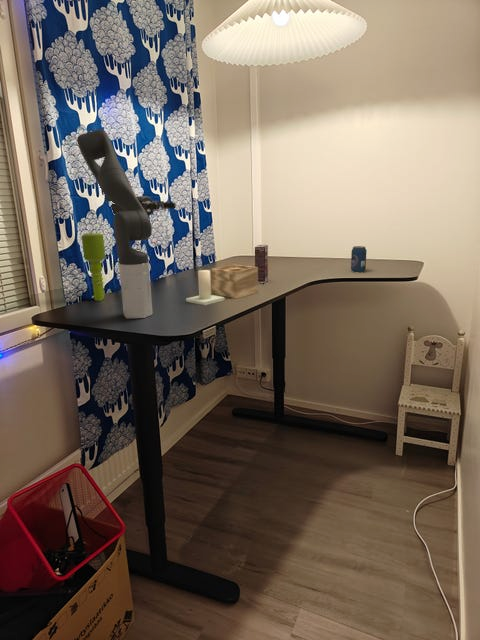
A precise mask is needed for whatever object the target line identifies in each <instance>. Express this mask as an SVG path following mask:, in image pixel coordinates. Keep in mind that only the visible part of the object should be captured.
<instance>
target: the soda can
mask: <svg viewBox="0 0 480 640" xmlns="http://www.w3.org/2000/svg"><path fill="white" fill-rule="evenodd" d="M366 266H367V249H366V246H361V245H357V246H353V247H352V250H351V256H350V271H351V272H352V271H353V272H352V273H354V272H363V273H365V271H366V270H367V269H366V268H367V267H366Z"/></svg>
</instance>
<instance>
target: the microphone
mask: <svg viewBox="0 0 480 640" xmlns="http://www.w3.org/2000/svg"><path fill="white" fill-rule="evenodd" d="M81 241H82V252H83V259H84V260H85V261H87V262H89V268H90V273H91V274H90V276H91V284H92V289H93V296H94V298H93V299H94V301H104V300H105V293H104V281H103V273H102V271H103V267H102V263H101V262H102V261H103V260H104V259H106V252H105V251H106V250H105V249H106V248H105V242H104V234H102V233H100V232H99V233H97V232H95V233H84V234H82V235H81ZM103 299H104V300H103Z"/></svg>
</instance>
